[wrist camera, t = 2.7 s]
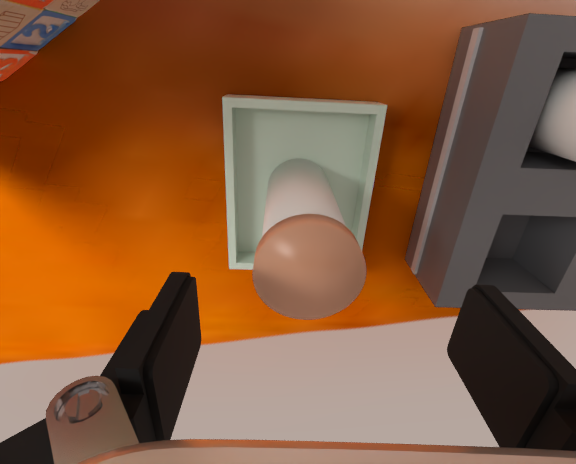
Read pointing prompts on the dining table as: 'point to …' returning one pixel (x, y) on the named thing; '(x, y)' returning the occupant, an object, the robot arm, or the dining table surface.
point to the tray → (296, 144)
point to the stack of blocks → (33, 28)
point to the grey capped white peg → (558, 117)
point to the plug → (306, 246)
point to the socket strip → (499, 173)
